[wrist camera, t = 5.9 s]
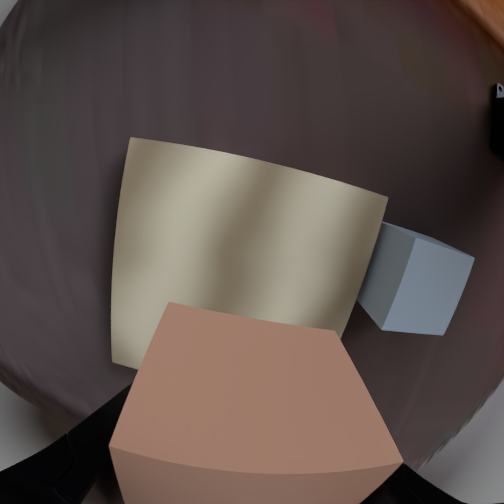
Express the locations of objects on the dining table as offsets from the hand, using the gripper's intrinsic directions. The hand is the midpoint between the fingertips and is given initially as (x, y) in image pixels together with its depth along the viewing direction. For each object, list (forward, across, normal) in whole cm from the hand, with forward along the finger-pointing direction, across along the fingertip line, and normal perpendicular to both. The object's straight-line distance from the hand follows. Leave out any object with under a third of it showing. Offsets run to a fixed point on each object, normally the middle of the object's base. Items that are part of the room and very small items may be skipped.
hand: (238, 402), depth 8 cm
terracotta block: (+1, 0, 0) cm, 1 cm away
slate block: (+10, -10, -3) cm, 15 cm away
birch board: (+10, 0, 0) cm, 10 cm away
